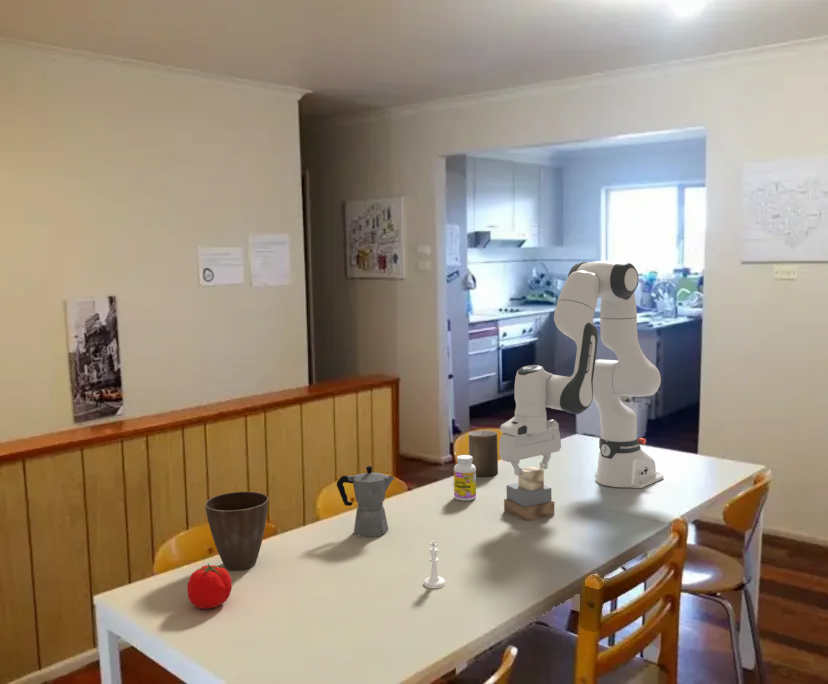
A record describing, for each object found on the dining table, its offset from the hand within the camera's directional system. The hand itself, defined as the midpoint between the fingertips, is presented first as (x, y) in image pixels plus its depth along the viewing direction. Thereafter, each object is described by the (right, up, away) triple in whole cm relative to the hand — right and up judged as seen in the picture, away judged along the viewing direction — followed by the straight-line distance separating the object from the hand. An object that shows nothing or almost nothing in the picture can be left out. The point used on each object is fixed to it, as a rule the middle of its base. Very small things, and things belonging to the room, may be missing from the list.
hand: (531, 471), depth 219 cm
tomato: (-77, -20, -52) cm, 95 cm away
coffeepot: (-46, -15, -10) cm, 49 cm away
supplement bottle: (-18, -11, +16) cm, 26 cm away
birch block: (0, -4, 0) cm, 4 cm away
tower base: (0, -12, +2) cm, 12 cm away
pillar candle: (-10, -8, +42) cm, 44 cm away
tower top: (0, -8, +1) cm, 8 cm away
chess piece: (-28, -18, -44) cm, 56 cm away
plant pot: (-75, -18, -30) cm, 83 cm away
